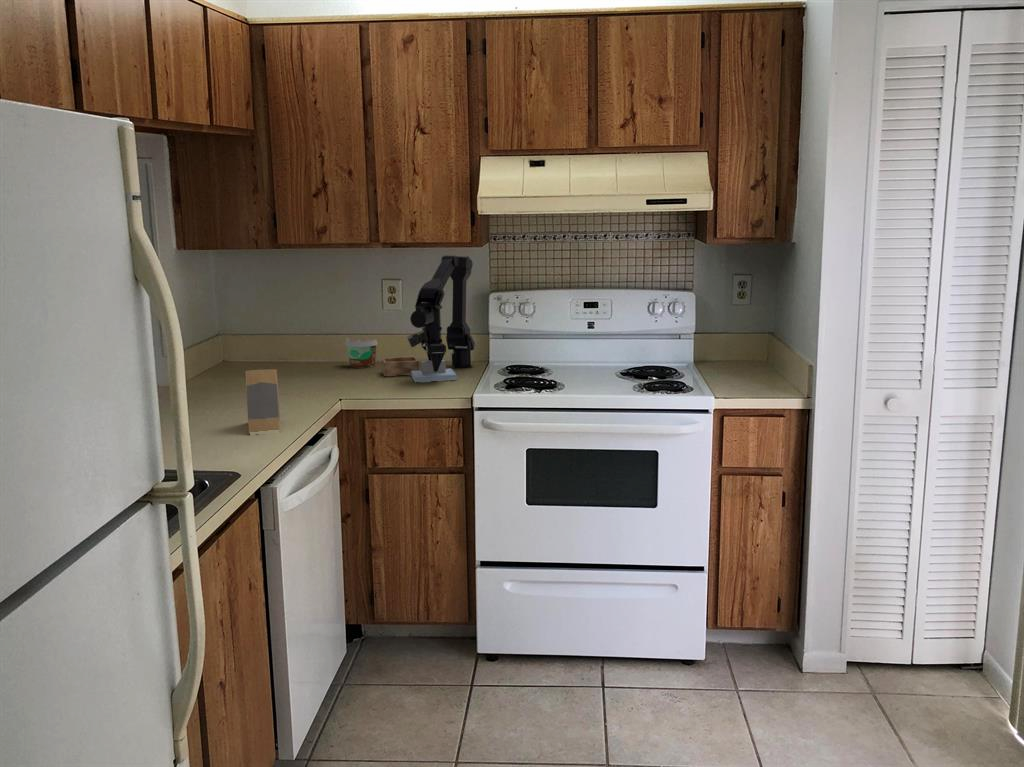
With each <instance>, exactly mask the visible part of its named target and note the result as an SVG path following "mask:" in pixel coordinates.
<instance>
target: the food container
mask: <svg viewBox="0 0 1024 767" xmlns="http://www.w3.org/2000/svg"><path fill="white" fill-rule="evenodd" d="M378 344H379V343H378V340H377V339H370V340H366V339H365V340H363V339H359V340H349V338H346V340H345V346H346V347H347V352H348V353H347V354H348V359H349V365H350V367H351V368H353V367H358V368H357V369H360V368H359V367H369V368H371V367H370V366H374V365H375V366H376V356H377V355H376V354H377V346H378ZM375 366H374V367H375Z"/></svg>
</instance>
